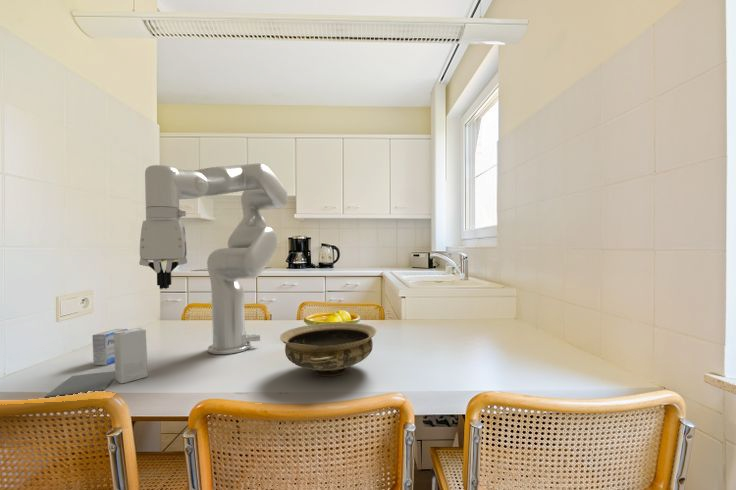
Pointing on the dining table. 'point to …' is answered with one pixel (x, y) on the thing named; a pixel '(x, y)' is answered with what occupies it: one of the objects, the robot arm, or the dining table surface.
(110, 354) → the medicine box
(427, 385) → the dining table surface
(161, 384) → the dining table surface
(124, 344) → the skincare box
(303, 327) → the ceramic bowl
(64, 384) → the mat
